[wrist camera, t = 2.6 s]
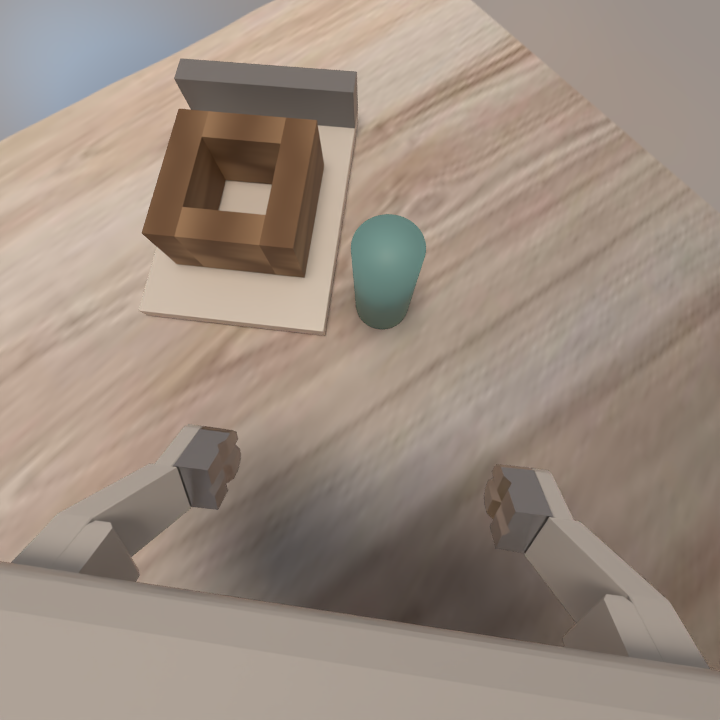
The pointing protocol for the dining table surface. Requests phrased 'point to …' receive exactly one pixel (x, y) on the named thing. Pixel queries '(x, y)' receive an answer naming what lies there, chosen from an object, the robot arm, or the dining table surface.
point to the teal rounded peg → (386, 268)
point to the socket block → (238, 163)
